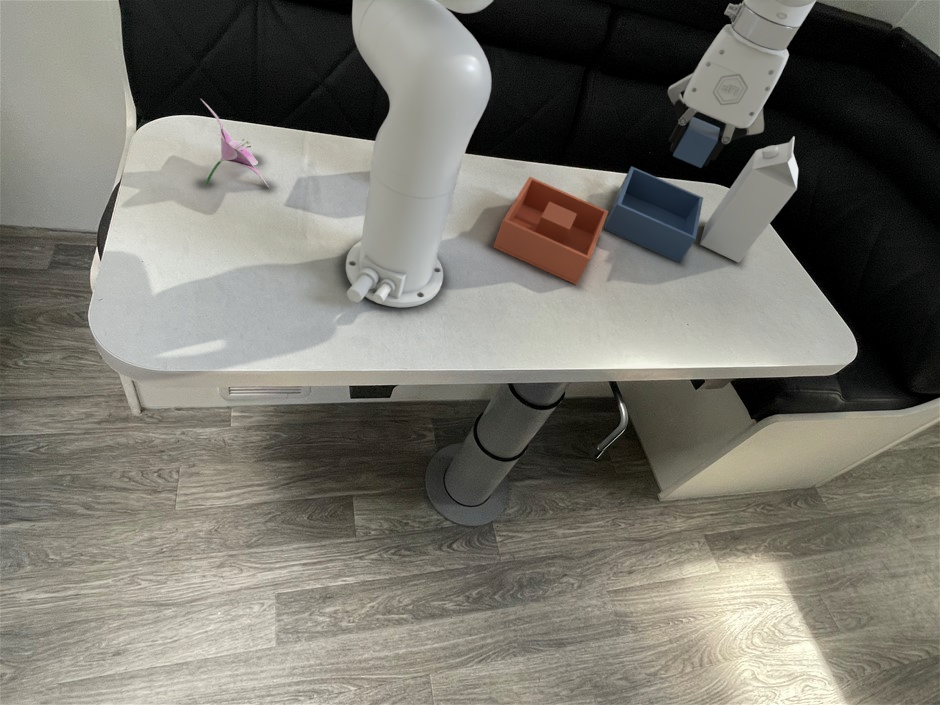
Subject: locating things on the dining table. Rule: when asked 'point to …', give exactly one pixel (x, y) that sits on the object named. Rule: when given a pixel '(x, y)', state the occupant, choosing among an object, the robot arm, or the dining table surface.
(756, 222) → the milk carton
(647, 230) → the slate bin
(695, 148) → the slate block
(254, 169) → the lily
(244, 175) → the dining table surface
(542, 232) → the terracotta block
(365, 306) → the dining table surface
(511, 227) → the terracotta bin
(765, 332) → the dining table surface
